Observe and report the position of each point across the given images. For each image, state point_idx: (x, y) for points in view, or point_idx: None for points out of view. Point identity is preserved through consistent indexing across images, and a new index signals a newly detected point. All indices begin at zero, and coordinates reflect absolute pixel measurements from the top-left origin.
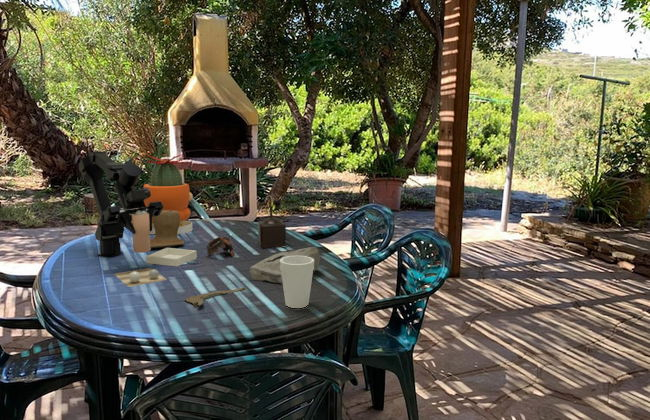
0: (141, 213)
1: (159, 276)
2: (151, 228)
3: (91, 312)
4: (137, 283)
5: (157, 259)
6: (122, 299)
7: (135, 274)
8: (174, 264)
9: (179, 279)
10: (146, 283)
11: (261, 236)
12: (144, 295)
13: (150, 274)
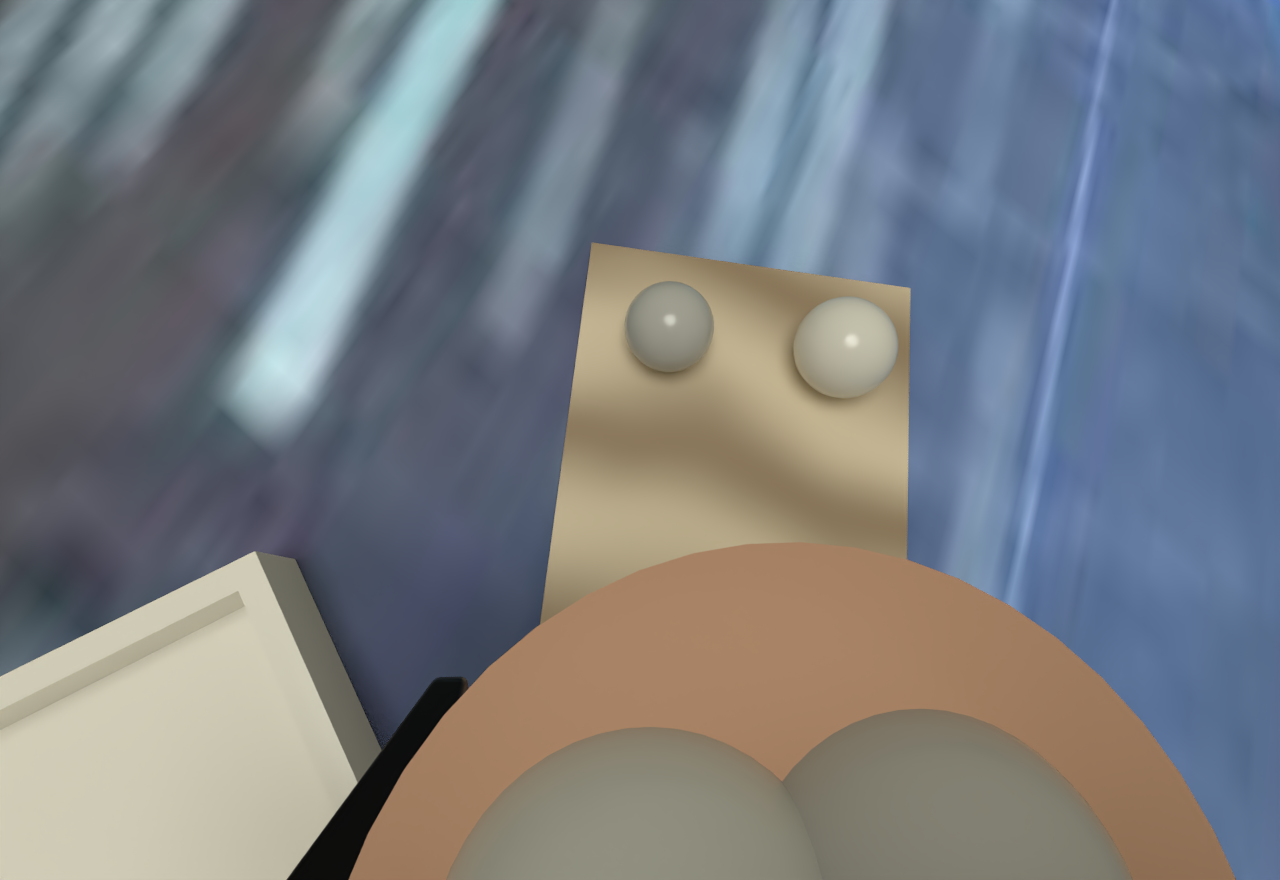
0: (865, 791)
1: (600, 365)
2: (440, 698)
3: (1205, 51)
4: None
5: None
6: (1003, 121)
7: (861, 299)
8: (295, 588)
9: (489, 225)
10: (767, 268)
11: None
12: (861, 91)
13: (710, 309)
